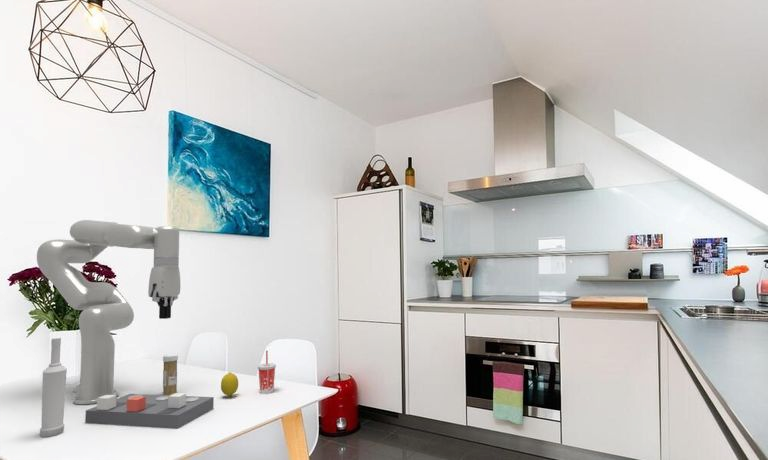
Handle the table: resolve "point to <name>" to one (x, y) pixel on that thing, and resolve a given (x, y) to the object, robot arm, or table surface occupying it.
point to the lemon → (229, 384)
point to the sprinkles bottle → (170, 374)
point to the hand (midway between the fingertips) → (164, 318)
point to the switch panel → (151, 412)
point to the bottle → (53, 394)
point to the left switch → (106, 402)
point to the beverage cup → (266, 376)
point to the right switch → (177, 400)
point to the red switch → (136, 403)
